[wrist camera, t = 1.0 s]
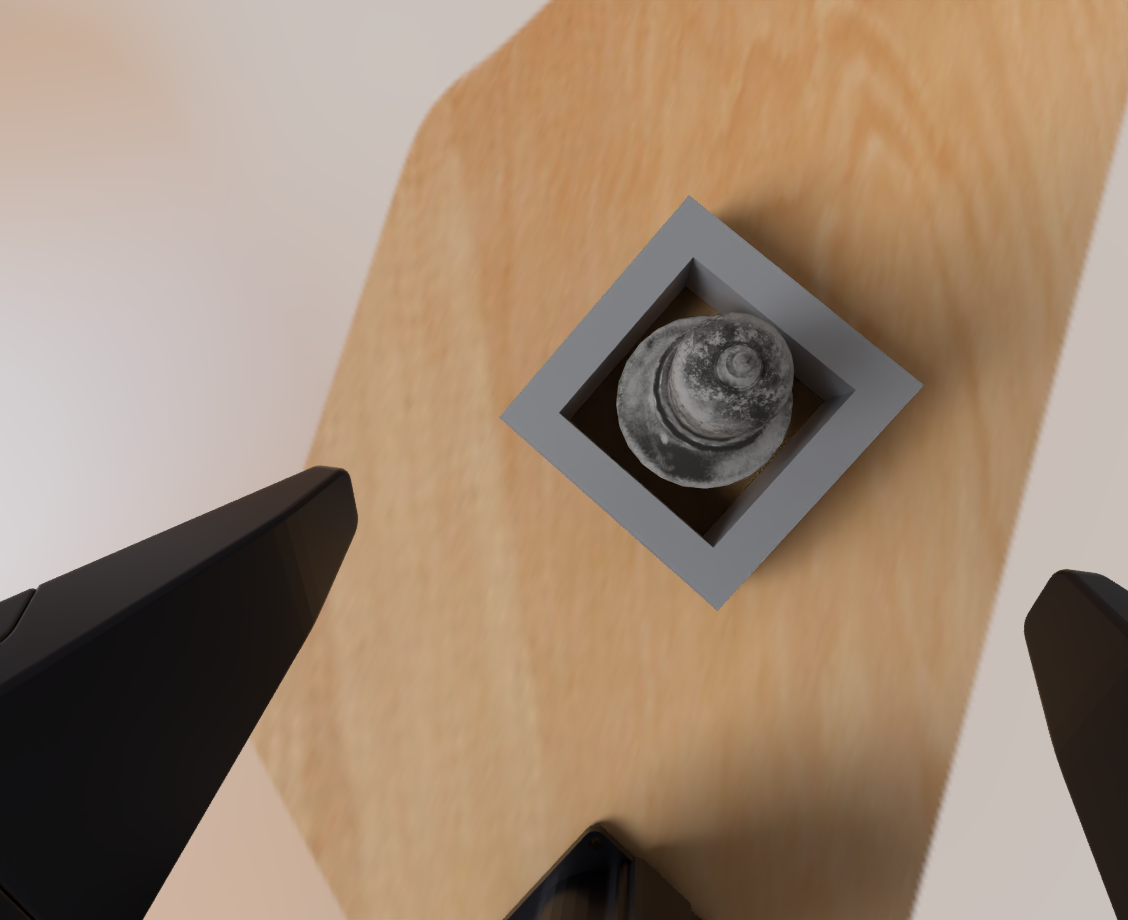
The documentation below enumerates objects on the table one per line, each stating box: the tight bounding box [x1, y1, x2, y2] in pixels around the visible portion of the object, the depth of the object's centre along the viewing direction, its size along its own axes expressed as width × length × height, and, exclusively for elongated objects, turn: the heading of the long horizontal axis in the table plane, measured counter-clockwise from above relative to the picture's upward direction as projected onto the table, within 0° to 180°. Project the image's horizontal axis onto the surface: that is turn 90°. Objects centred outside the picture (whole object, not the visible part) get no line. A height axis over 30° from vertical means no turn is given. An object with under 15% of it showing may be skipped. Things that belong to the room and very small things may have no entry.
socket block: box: [499, 196, 924, 611], centre depth 23 cm, size 10×10×4 cm
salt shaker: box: [616, 312, 794, 489], centre depth 19 cm, size 6×6×12 cm
